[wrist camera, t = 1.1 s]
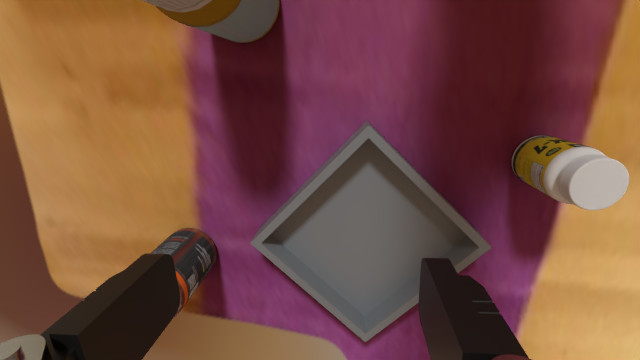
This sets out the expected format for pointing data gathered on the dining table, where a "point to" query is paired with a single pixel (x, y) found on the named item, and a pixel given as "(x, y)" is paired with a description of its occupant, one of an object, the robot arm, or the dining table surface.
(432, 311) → the robot arm
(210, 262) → the supplement bottle
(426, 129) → the dining table surface
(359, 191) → the tray
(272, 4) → the bottle
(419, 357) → the dining table surface
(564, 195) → the supplement bottle
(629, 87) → the dining table surface
